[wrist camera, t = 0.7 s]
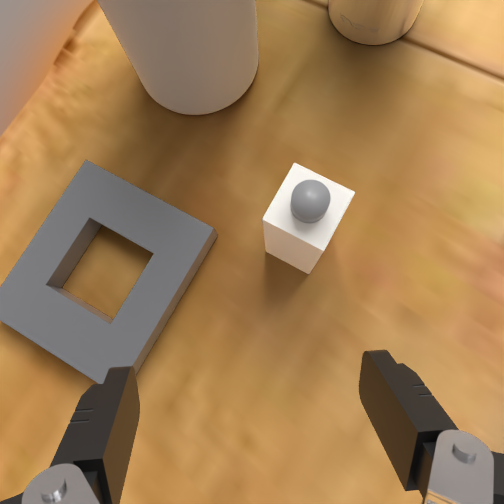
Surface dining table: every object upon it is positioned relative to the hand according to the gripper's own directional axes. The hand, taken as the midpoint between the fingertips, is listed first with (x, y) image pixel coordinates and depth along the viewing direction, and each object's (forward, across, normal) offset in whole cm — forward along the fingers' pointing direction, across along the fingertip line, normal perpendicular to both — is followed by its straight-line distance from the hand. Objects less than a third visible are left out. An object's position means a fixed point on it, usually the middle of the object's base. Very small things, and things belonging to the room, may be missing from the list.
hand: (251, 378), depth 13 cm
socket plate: (+23, +11, +6) cm, 26 cm away
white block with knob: (+22, -6, +3) cm, 23 cm away
